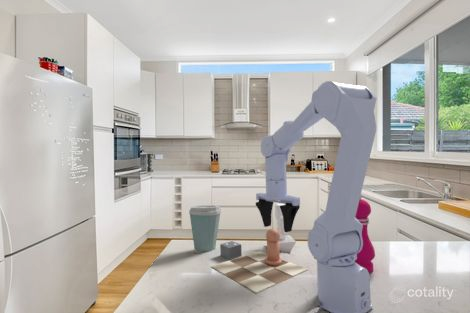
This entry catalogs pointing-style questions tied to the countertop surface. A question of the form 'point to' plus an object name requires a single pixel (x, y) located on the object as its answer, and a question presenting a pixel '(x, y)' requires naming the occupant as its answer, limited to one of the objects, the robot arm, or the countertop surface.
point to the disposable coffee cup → (204, 226)
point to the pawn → (273, 248)
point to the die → (230, 250)
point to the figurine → (283, 232)
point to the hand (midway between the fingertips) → (277, 228)
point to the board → (258, 271)
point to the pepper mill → (365, 237)
